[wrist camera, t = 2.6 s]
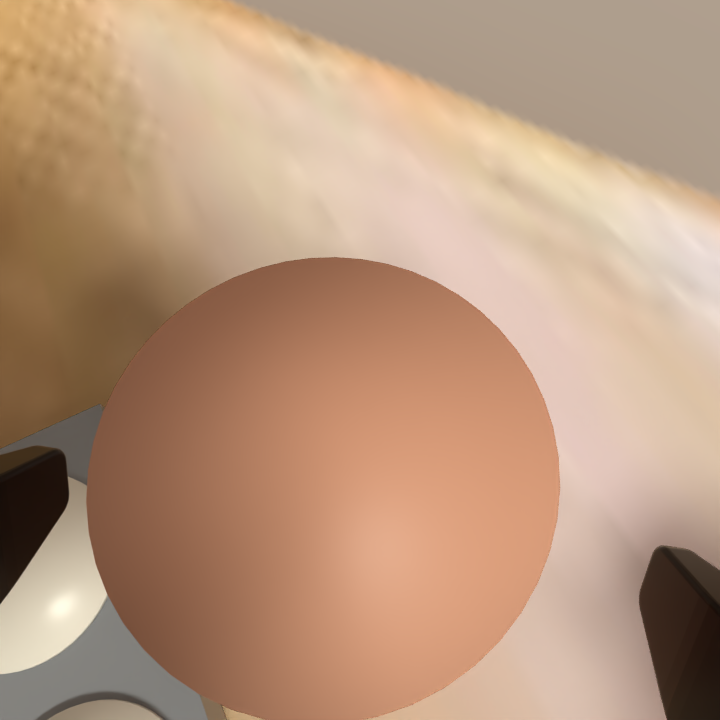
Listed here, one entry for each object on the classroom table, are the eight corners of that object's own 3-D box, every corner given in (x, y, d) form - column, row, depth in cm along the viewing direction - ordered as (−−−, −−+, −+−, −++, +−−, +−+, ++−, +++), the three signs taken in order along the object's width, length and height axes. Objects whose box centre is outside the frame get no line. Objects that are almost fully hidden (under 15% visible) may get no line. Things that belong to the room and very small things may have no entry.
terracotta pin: (455, 607, 15) (663, 551, 4) (323, 685, 14) (181, 853, 4) (385, 477, 17) (408, 202, 6) (262, 542, 16) (35, 363, 5)
